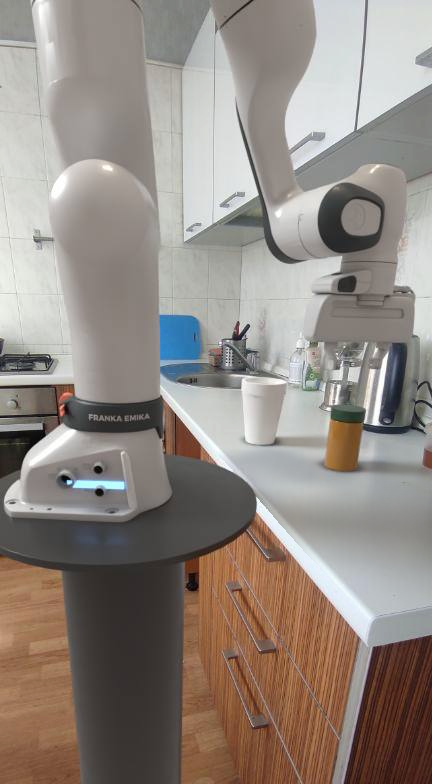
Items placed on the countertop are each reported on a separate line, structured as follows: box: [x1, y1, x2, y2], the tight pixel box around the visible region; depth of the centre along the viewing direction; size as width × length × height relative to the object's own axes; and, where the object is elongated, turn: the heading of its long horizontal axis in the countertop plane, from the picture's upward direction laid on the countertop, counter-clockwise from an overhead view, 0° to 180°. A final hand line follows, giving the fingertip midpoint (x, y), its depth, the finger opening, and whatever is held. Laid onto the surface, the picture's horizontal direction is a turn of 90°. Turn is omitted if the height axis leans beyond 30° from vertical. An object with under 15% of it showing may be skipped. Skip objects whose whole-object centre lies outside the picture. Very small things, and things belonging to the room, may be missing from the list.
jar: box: [323, 417, 365, 472], centre depth 86 cm, size 6×6×11 cm
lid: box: [329, 403, 367, 422], centre depth 84 cm, size 6×6×2 cm
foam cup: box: [240, 376, 288, 446], centre depth 99 cm, size 10×9×13 cm
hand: (354, 369), depth 81 cm, fingers open, 7 cm apart
